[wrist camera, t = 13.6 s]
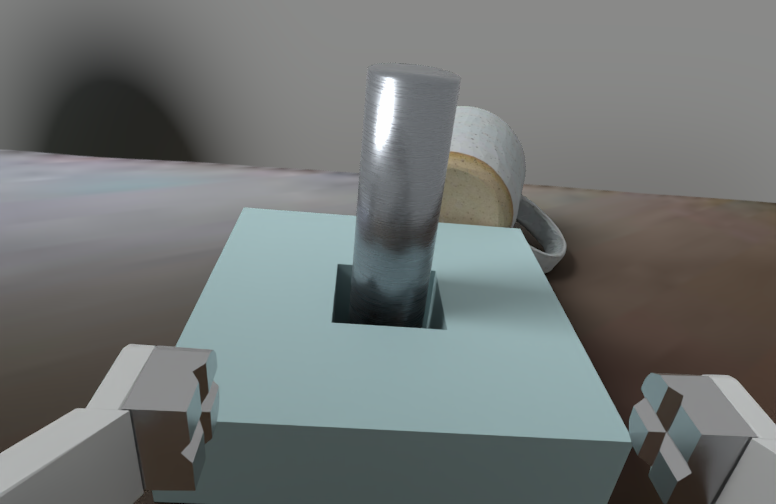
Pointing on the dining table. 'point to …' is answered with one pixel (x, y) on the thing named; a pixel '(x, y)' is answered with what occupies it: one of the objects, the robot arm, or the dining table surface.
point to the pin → (400, 190)
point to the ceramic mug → (493, 183)
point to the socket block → (395, 378)
